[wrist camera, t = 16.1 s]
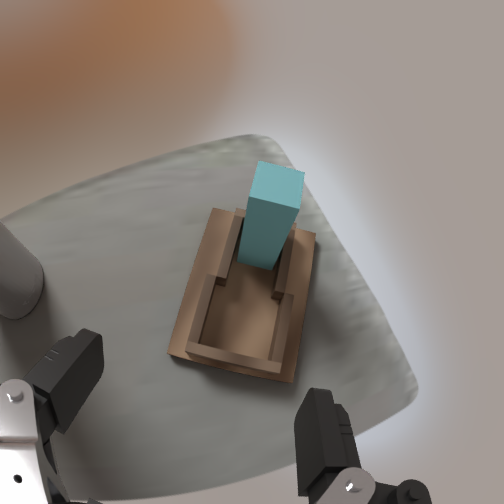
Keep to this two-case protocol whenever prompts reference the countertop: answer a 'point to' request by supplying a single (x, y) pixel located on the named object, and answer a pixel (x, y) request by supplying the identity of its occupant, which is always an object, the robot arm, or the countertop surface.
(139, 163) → the countertop surface
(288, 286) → the keyhole board
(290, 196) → the post
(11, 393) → the robot arm
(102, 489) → the countertop surface
